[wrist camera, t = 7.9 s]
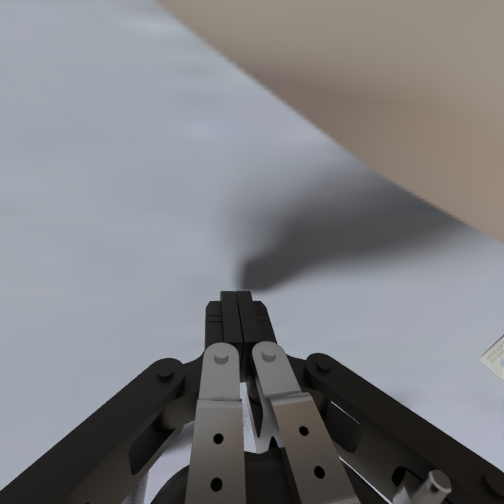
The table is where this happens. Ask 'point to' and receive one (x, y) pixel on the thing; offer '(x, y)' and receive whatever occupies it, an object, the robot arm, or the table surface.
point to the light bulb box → (495, 358)
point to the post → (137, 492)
